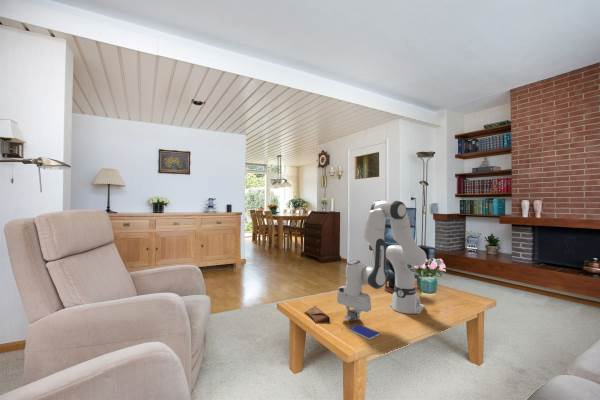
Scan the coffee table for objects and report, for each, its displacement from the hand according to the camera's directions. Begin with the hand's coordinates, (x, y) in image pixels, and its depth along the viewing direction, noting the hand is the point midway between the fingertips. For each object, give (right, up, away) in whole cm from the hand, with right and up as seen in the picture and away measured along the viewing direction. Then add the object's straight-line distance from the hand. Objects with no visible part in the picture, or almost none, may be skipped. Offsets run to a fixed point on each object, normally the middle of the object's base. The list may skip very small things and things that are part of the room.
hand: (353, 315), depth 157 cm
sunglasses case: (-20, -3, +4) cm, 21 cm away
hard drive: (+3, -4, -14) cm, 15 cm away
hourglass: (+42, -5, +56) cm, 70 cm away
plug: (-1, -2, -1) cm, 2 cm away
